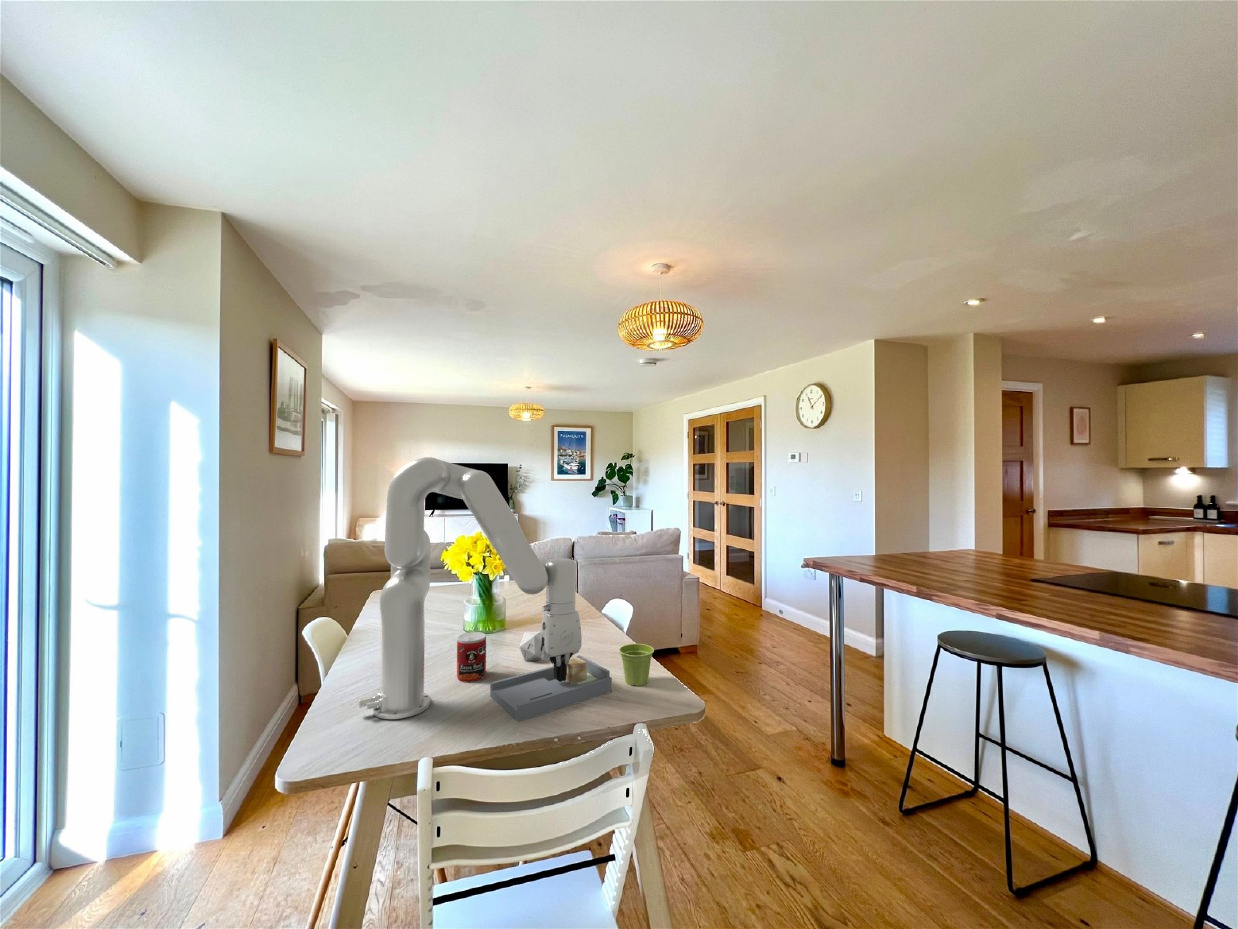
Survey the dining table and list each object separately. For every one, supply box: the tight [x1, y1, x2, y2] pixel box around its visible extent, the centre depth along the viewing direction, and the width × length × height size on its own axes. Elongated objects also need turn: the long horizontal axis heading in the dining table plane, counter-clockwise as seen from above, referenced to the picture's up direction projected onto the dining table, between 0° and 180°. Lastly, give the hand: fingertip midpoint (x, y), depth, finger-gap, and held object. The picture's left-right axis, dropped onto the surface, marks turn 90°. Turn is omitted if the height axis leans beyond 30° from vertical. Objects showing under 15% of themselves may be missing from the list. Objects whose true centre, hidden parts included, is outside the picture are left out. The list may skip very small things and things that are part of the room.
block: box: [566, 657, 587, 684], centre depth 132 cm, size 4×4×4 cm
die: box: [519, 630, 543, 662], centre depth 152 cm, size 8×9×10 cm
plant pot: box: [618, 643, 655, 687], centre depth 135 cm, size 9×9×9 cm
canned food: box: [456, 631, 487, 683], centre depth 138 cm, size 8×8×11 cm
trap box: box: [489, 654, 613, 723], centre depth 127 cm, size 26×16×5 cm, turn 128°
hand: (560, 679), depth 129 cm, fingers closed
